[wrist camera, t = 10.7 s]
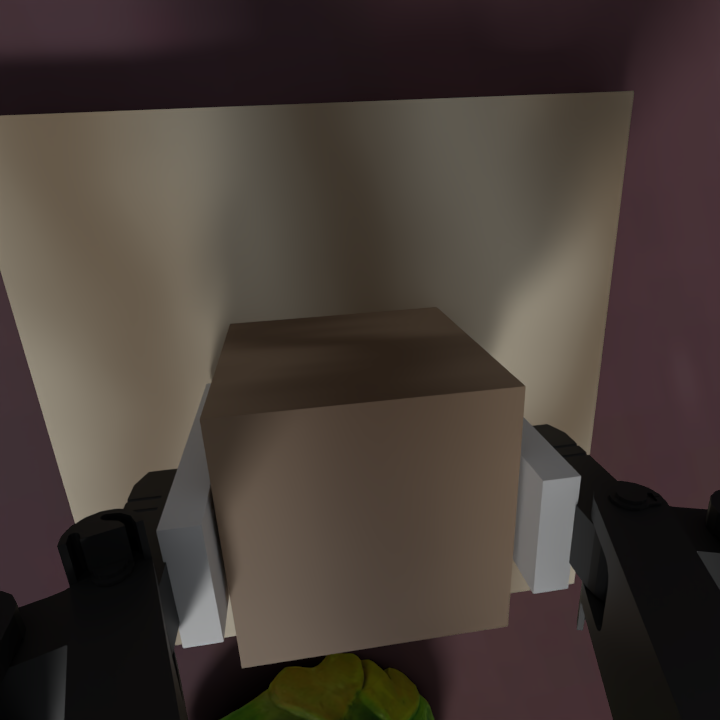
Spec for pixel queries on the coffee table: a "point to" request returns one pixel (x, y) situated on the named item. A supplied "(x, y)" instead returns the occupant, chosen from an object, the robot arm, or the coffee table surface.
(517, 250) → the oak board
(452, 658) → the coffee table surface
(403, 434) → the walnut cube
